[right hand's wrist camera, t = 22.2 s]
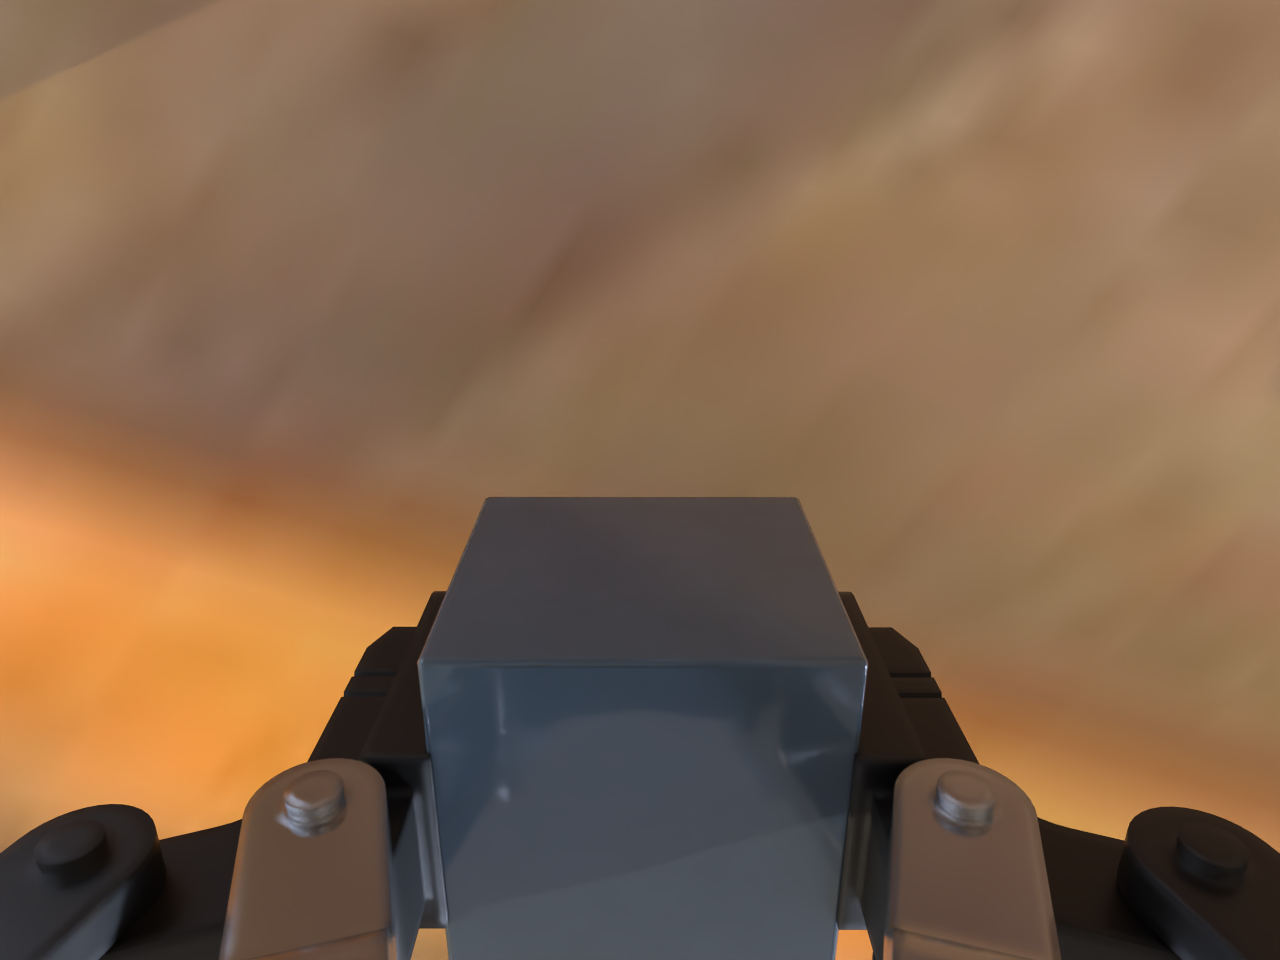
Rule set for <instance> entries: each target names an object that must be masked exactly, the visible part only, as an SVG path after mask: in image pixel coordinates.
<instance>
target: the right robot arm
mask: <svg viewBox="0 0 1280 960" xmlns="http://www.w3.org/2000/svg"><path fill="white" fill-rule="evenodd" d="M446 592H447V591H434V592H433V593H432V594H431V596H430V599H429V601H428V603H427V605H426V608H425V610H424V612H423V614H422V617H421V619H420V621H419V623H418V626H417V627H392V628H391V629H390V630H389V631H387V632H386V633H385V634H384V635H382V636H381V637H380V638H379V639H377V640H376V641H375V642H374V643H372V644H371V645H370V646H369V647H367V649H366V651H365V653H364V654H363V656H362V658H361V660H360V662H359V664H358V666H357V668H356V670H355V672H354V677H351V679H350V681H349V683H348V685H347V687H346V689H345V691H344V697H341V699H340V700H339V702H338V704H337V706H336V708H335V710H334V712H333V714H332V716H331V718H330V720H329V722H328V723H327V725H326V727H325V729H324V731H323V733H322V735H321V737H320V739H319V741H318V743H317V745H316V746H315V748H314V750H313V752H312V754H311V756H310V758H309V760H308V762H306V763H303V764H300V765H297V766H295V767H292V768H290V769H288V770H286V771H284V772H282V773H280V774H278V775H277V776H275V777H273V778H272V779H270V780H269V781H268V782H266V783H265V784H264V785H263V786H262V787H261V788H260V789H258V790H257V791H256V793H255V794H254V795H253V796H252V798H251V799H250V800H249V802H248V804H247V806H246V808H245V811H244V814H243V818H242V819H241V820H238V821H235V822H233V823H229V824H226V825H222V826H218V827H214V828H210V829H206V830H201V831H197V832H193V833H188V834H184V835H180V836H175V837H171V838H166V839H162V840H159V839H158V835H157V831H156V827H155V824H154V822H153V819H152V818H151V817H150V816H149V815H148V814H147V813H146V812H144V811H143V810H141V809H139V808H136V807H133V806H128V805H122V804H107V805H97V806H92V807H86V808H82V809H79V810H75V811H72V812H69V813H66V814H64V815H61V816H58V817H56V818H54V819H52V820H50V821H48V822H46V823H43V824H42V825H40V826H38V827H37V828H35V829H33V830H31V831H30V832H28V833H27V834H25V835H24V836H23V837H21V838H20V839H18V840H17V841H16V842H14V843H13V844H12V845H11V846H9V847H8V848H7V849H5V850H4V851H3V852H2V853H0V960H410V959H411V956H412V952H413V948H414V945H415V941H416V937H417V934H418V930H419V928H447V927H448V923H449V921H448V912H447V902H446V893H445V883H444V874H443V864H442V855H441V845H440V836H439V826H438V817H437V807H436V798H435V788H434V779H433V769H432V760H431V753H428V752H427V750H426V743H425V734H424V724H423V715H422V705H421V696H420V687H419V677H418V668H417V662H418V660H419V657H420V655H421V652H422V650H423V647H424V645H425V643H426V640H427V638H428V635H429V633H430V631H431V628H432V626H433V623H434V621H435V619H436V616H437V614H438V611H439V609H440V607H441V604H442V602H443V599H444V597H445V595H446ZM838 593H839V595H840V598H841V600H842V602H843V605H844V607H845V609H846V612H847V614H848V616H849V619H850V621H851V624H852V626H853V628H854V631H855V633H856V635H857V638H858V640H859V642H860V645H861V647H862V649H863V652H864V654H865V657H866V659H867V662H868V672H867V681H866V690H865V699H864V708H863V717H862V726H861V735H860V744H859V750H858V753H855V760H854V769H853V778H852V787H851V796H850V806H849V815H848V824H847V833H846V842H845V852H844V861H843V870H842V879H841V888H840V898H839V907H838V916H837V925H838V929H839V930H867V931H868V934H869V938H870V941H871V945H872V949H873V955H872V960H1280V853H1279V852H1277V851H1276V850H1275V849H1273V848H1272V847H1271V846H1269V845H1268V844H1267V843H1266V842H1264V841H1263V840H1261V839H1260V838H1258V837H1257V836H1256V835H1254V834H1253V833H1251V832H1249V831H1247V830H1246V829H1244V828H1242V827H1241V826H1239V825H1237V824H1234V823H1232V822H1230V821H1228V820H1226V819H1223V818H1221V817H1218V816H1215V815H1213V814H1209V813H1206V812H1202V811H1199V810H1194V809H1189V808H1182V807H1158V808H1152V809H1149V810H1146V811H1143V812H1141V813H1140V814H1138V815H1137V816H1135V817H1134V818H1133V820H1132V821H1131V822H1130V824H1129V827H1128V830H1127V834H1126V838H1125V841H1123V840H1119V839H1115V838H1110V837H1106V836H1102V835H1097V834H1093V833H1089V832H1084V831H1080V830H1076V829H1071V828H1067V827H1064V826H1060V825H1056V824H1054V823H1051V822H1048V821H1045V820H1043V819H1040V818H1038V817H1037V814H1036V811H1035V808H1034V806H1033V804H1032V802H1031V800H1030V799H1029V798H1028V796H1027V795H1026V794H1025V793H1024V791H1023V790H1022V789H1020V788H1019V787H1018V786H1017V785H1016V784H1015V783H1014V782H1012V781H1011V780H1010V779H1008V778H1007V777H1005V776H1003V775H1002V774H1000V773H998V772H996V771H994V770H992V769H990V768H988V767H985V766H983V765H980V764H979V762H978V761H977V759H976V757H975V755H974V753H973V751H972V749H971V747H970V745H969V744H968V742H967V740H966V738H965V736H964V734H963V732H962V730H961V728H960V727H959V725H958V723H957V721H956V719H955V717H954V715H953V713H952V711H951V710H950V708H949V706H948V704H947V702H946V700H945V698H942V693H941V691H940V689H939V687H938V685H937V683H936V681H935V679H934V678H931V672H930V670H929V668H928V666H927V664H926V662H925V661H924V659H923V657H922V655H921V653H920V651H919V649H918V648H917V647H916V646H914V645H913V644H912V643H911V642H909V641H908V640H907V639H906V638H904V637H903V636H902V635H900V634H899V633H898V632H897V631H895V630H894V629H893V628H868V626H867V624H866V622H865V619H864V617H863V615H862V613H861V610H860V608H859V606H858V604H857V602H856V599H855V597H854V595H853V594H852V593H851V592H838Z"/></svg>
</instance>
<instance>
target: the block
mask: <svg viewBox="0 0 1280 960" xmlns="http://www.w3.org/2000/svg"><path fill="white" fill-rule="evenodd" d="M417 668H418V677H419V687H420V696H421V705H422V715H423V724H424V734H425V743H426V750H427V752H428V753H431V760H432V769H433V779H434V788H435V798H436V807H437V817H438V826H439V836H440V845H441V855H442V864H443V874H444V883H445V893H446V902H447V912H448V921H449V923H448V927H447V928H445V931H446V940H447V950H448V959H449V960H835V959H836V950H837V941H838V932H839V929H838V925H837V916H838V907H839V898H840V888H841V879H842V870H843V861H844V852H845V842H846V833H847V824H848V815H849V806H850V796H851V787H852V778H853V769H854V760H855V753H858V750H859V744H860V735H861V726H862V717H863V708H864V699H865V690H866V681H867V672H868V662H867V659H866V657H865V654H864V652H863V649H862V647H861V645H860V642H859V640H858V638H857V635H856V633H855V631H854V628H853V626H852V624H851V621H850V619H849V616H848V614H847V612H846V609H845V607H844V605H843V602H842V600H841V598H840V595H839V593H838V591H837V588H836V586H835V583H834V581H833V579H832V576H831V574H830V572H829V569H828V567H827V565H826V562H825V560H824V558H823V555H822V553H821V550H820V548H819V546H818V543H817V541H816V539H815V536H814V534H813V532H812V529H811V527H810V525H809V522H808V520H807V517H806V515H805V513H804V510H803V508H802V506H801V503H800V501H799V499H797V498H795V497H488V498H486V499H485V501H484V504H483V506H482V508H481V511H480V513H479V516H478V518H477V520H476V523H475V525H474V528H473V530H472V532H471V535H470V537H469V540H468V542H467V544H466V547H465V549H464V552H463V554H462V556H461V559H460V561H459V563H458V566H457V568H456V571H455V573H454V575H453V578H452V580H451V583H450V585H449V587H448V590H447V592H446V595H445V597H444V599H443V602H442V604H441V607H440V609H439V611H438V614H437V616H436V619H435V621H434V623H433V626H432V628H431V631H430V633H429V635H428V638H427V640H426V643H425V645H424V647H423V650H422V652H421V655H420V657H419V660H418V662H417Z"/></svg>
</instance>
